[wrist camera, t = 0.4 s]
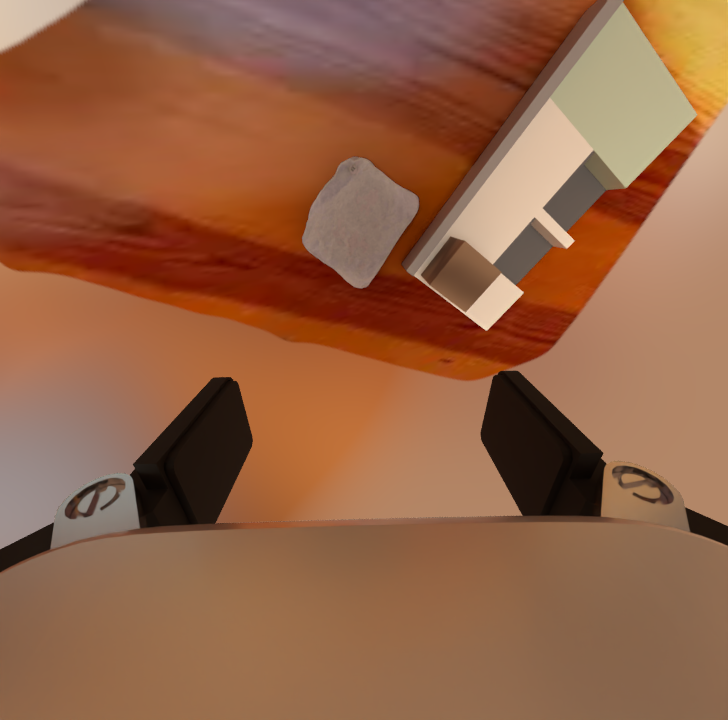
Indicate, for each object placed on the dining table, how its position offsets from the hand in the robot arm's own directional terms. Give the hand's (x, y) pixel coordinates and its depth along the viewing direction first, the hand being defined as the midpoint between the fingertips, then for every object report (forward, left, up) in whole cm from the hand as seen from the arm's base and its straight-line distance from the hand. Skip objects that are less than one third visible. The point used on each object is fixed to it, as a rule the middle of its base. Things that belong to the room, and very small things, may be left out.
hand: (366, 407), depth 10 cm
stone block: (-4, -4, -28) cm, 29 cm away
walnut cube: (-6, +8, -25) cm, 27 cm away
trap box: (-16, +10, -28) cm, 34 cm away
